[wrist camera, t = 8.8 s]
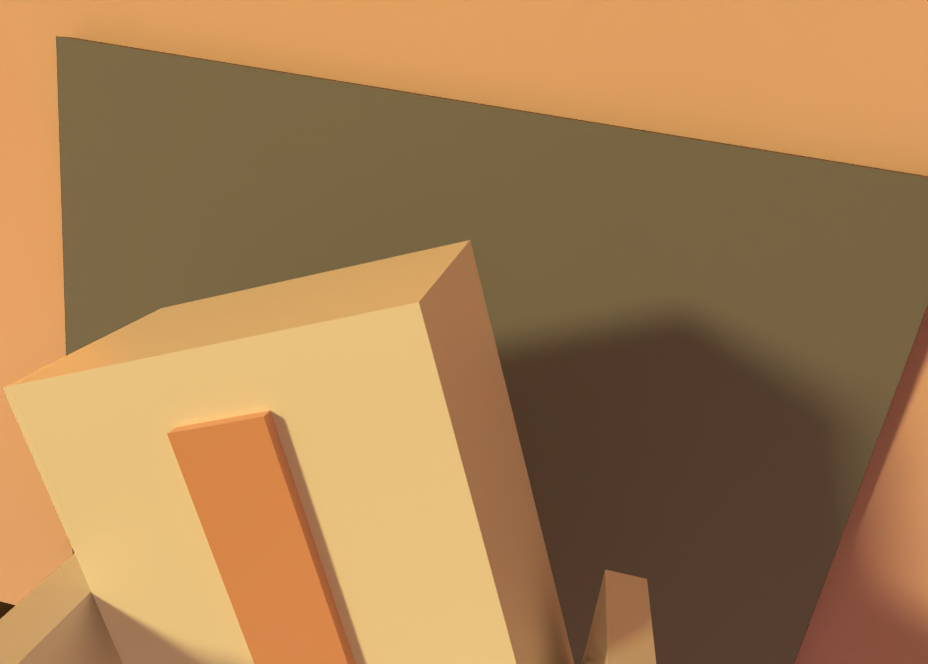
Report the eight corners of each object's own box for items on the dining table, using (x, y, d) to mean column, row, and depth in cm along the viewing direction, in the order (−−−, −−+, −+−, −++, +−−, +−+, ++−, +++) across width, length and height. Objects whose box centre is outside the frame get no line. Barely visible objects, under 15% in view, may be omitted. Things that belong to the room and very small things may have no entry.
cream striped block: (160, 308, 14) (-8, 393, 10) (469, 240, 13) (414, 306, 9) (342, 806, 17) (267, 1021, 13) (606, 793, 16) (610, 1028, 12)
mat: (87, 618, 23) (75, 632, 23) (72, 38, 18) (55, 36, 17) (740, 779, 21) (744, 798, 21) (958, 181, 16) (972, 185, 15)
